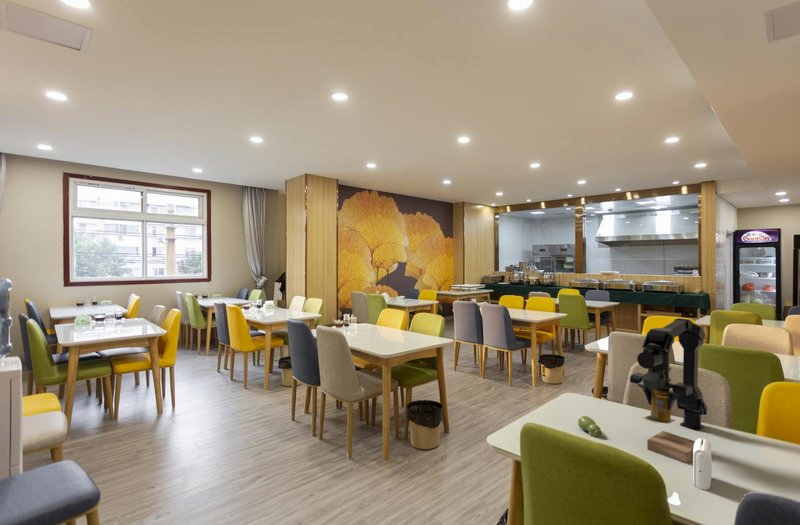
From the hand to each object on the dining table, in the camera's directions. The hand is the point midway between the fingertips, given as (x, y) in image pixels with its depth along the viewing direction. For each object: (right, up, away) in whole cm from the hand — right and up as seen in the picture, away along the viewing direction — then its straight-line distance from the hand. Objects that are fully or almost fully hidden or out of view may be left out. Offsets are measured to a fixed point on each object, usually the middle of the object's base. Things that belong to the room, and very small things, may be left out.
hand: (659, 407), depth 144 cm
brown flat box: (+1, -14, -6) cm, 15 cm away
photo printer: (-3, -14, -25) cm, 28 cm away
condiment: (0, -5, 0) cm, 5 cm away
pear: (-21, -14, +10) cm, 27 cm away
